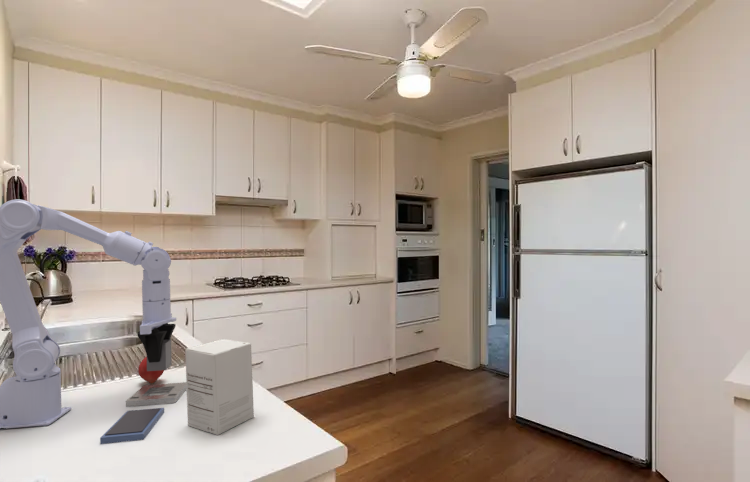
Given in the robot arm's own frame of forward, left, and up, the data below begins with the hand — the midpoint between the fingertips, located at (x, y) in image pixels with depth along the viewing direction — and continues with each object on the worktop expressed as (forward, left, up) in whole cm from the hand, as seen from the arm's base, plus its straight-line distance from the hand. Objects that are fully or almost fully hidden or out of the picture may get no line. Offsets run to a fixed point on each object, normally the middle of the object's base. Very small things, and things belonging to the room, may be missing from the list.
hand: (158, 359), depth 95 cm
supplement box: (+17, -17, -9) cm, 26 cm away
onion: (-5, +10, -9) cm, 14 cm away
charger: (0, 0, -2) cm, 2 cm away
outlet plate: (0, 0, -9) cm, 9 cm away
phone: (+1, -16, -9) cm, 18 cm away
